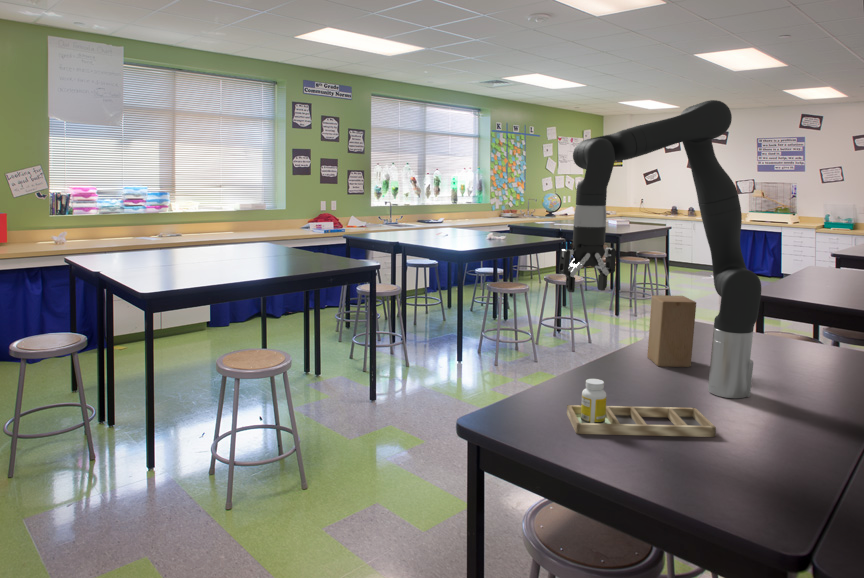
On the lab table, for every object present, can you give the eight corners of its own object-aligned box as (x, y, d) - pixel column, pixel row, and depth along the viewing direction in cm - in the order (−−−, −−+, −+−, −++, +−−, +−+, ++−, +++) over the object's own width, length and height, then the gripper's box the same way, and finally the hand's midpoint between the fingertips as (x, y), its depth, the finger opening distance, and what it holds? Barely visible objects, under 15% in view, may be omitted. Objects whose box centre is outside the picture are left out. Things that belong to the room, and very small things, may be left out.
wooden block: (691, 367, 183) (697, 301, 180) (657, 367, 184) (662, 301, 180) (678, 357, 193) (683, 295, 190) (646, 357, 193) (651, 295, 190)
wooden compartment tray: (694, 416, 145) (695, 407, 145) (715, 437, 134) (716, 427, 133) (566, 413, 146) (567, 405, 146) (576, 433, 135) (576, 424, 134)
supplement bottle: (605, 419, 142) (608, 379, 140) (603, 428, 137) (606, 386, 135) (581, 416, 144) (584, 376, 142) (579, 425, 139) (581, 383, 137)
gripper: (606, 222, 153) (602, 287, 156) (555, 223, 148) (552, 289, 151) (624, 225, 146) (620, 292, 149) (571, 226, 141) (568, 295, 144)
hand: (586, 291), depth 150 cm, fingers open, 8 cm apart
